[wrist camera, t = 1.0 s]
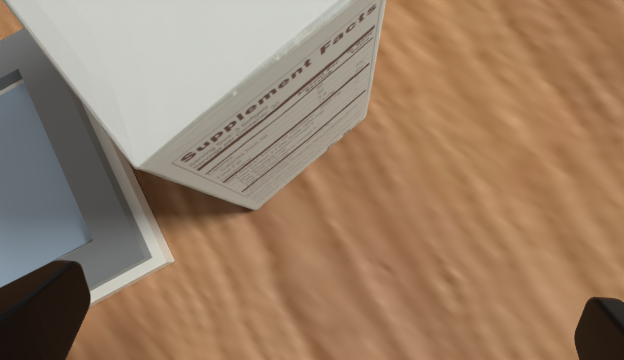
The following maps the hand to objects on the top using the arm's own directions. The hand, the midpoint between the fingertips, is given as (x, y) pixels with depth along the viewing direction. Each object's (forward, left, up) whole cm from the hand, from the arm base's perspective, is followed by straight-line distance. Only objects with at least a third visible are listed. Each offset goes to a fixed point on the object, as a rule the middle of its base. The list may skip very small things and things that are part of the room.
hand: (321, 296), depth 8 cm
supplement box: (+4, +7, -13) cm, 16 cm away
